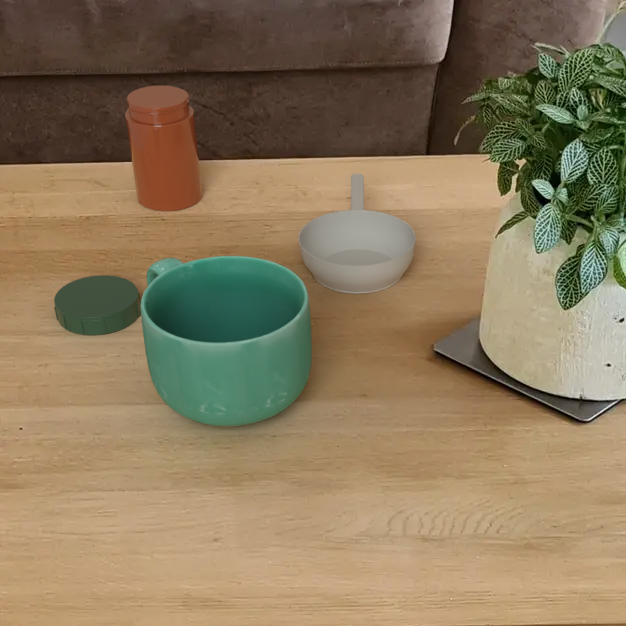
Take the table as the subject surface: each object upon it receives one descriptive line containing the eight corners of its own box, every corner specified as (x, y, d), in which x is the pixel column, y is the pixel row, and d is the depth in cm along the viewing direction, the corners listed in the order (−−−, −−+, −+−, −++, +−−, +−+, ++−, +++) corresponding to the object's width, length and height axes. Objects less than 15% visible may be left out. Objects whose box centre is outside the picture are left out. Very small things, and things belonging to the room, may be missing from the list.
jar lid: (144, 291, 105) (141, 273, 104) (137, 333, 100) (134, 315, 99) (63, 294, 104) (60, 276, 103) (52, 337, 99) (48, 318, 98)
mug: (344, 412, 92) (341, 309, 86) (199, 469, 86) (185, 362, 80) (243, 318, 102) (234, 220, 96) (108, 363, 96) (89, 262, 90)
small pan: (297, 300, 105) (295, 262, 102) (305, 207, 119) (303, 172, 116) (417, 299, 105) (418, 262, 103) (410, 207, 119) (411, 173, 117)
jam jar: (152, 216, 116) (137, 114, 110) (127, 191, 121) (112, 91, 114) (213, 201, 119) (203, 101, 113) (187, 177, 124) (176, 79, 117)
